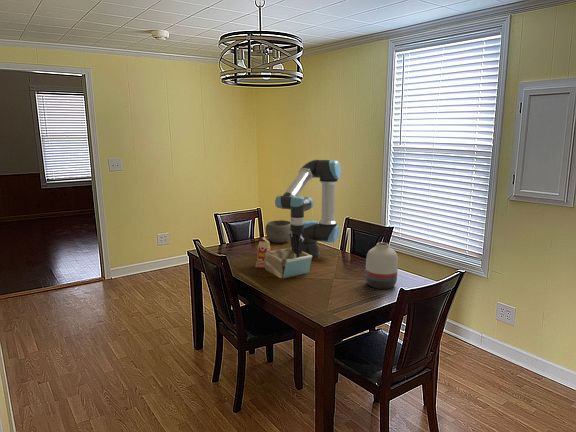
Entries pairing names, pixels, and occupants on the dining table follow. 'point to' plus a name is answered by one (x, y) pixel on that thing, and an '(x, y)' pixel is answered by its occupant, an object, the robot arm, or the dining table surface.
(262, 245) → the milk carton
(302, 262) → the light blue flat panel
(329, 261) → the dining table surface
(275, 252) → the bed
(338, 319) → the dining table surface
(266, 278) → the dining table surface
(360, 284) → the dining table surface
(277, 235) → the bowl
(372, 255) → the vase
